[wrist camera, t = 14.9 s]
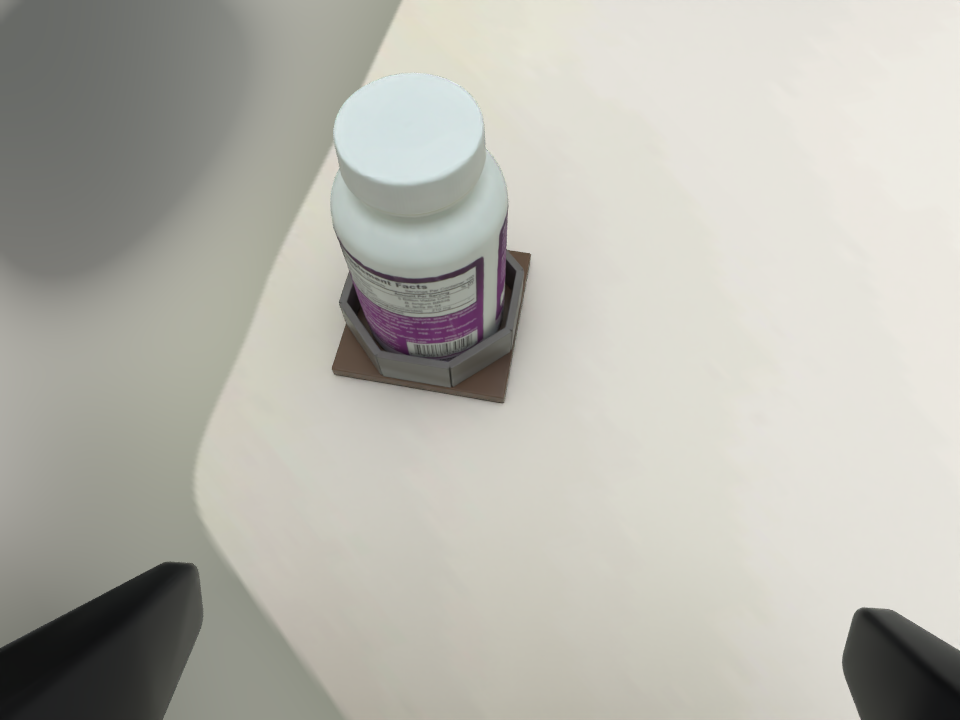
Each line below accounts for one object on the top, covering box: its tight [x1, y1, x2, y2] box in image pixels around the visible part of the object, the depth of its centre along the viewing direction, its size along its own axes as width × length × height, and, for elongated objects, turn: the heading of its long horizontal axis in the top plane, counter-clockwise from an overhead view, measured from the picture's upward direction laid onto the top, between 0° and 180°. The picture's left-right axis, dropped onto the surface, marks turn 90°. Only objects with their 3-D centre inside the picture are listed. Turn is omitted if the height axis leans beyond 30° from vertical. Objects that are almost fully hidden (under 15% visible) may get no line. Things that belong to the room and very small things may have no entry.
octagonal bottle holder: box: [332, 249, 531, 403], centre depth 25 cm, size 7×7×2 cm
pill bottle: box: [330, 73, 508, 362], centre depth 21 cm, size 5×5×10 cm
